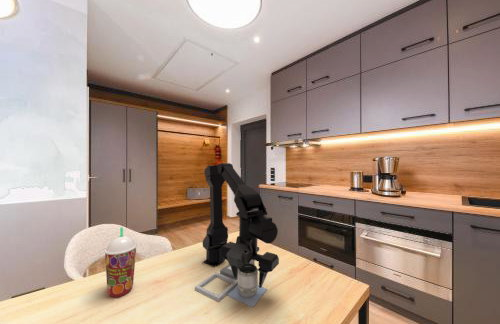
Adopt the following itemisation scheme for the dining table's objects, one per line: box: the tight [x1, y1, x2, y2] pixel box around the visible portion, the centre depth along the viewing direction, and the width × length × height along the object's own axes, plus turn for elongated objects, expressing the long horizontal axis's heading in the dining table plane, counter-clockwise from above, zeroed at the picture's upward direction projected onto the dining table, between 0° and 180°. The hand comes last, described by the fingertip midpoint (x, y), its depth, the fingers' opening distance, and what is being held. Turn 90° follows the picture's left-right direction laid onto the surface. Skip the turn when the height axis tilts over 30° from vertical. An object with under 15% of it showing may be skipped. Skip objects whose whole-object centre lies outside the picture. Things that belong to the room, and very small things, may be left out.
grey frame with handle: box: [194, 260, 255, 303], centre depth 72 cm, size 10×29×3 cm, turn 148°
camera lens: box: [237, 263, 259, 297], centre depth 61 cm, size 6×6×8 cm
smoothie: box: [104, 226, 138, 298], centre depth 61 cm, size 8×8×20 cm
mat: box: [227, 284, 268, 308], centre depth 61 cm, size 9×9×1 cm
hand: (247, 282), depth 61 cm, fingers open, 9 cm apart
